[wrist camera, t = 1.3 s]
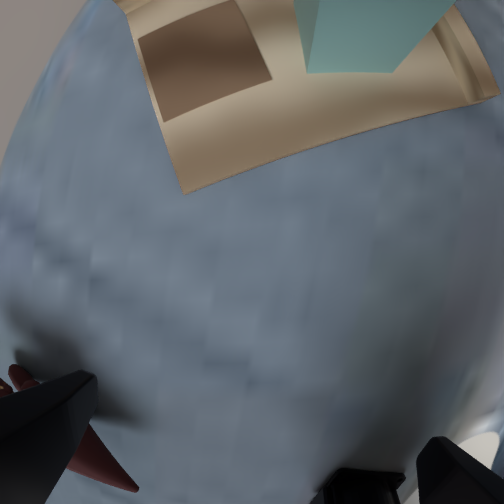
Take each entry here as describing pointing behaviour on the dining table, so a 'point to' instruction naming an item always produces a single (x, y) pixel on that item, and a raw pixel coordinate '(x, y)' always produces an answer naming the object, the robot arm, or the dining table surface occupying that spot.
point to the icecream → (90, 448)
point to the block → (363, 32)
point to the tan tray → (280, 83)
